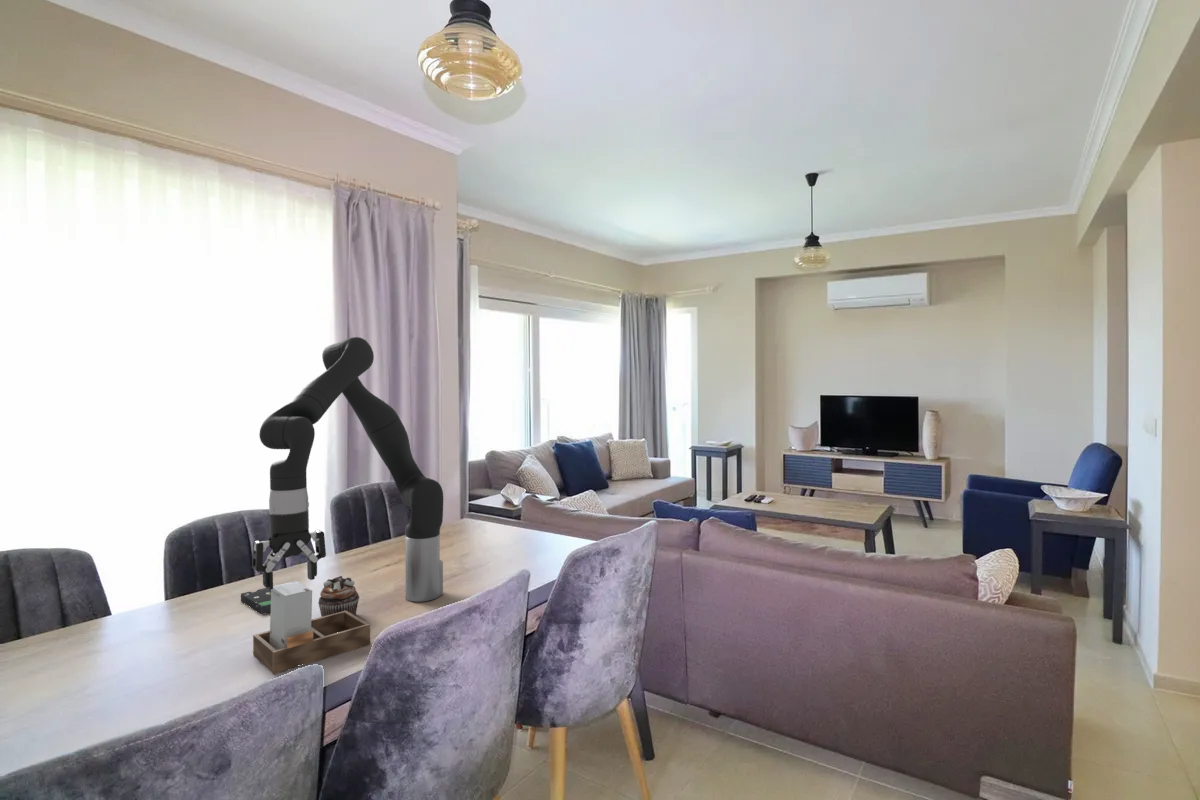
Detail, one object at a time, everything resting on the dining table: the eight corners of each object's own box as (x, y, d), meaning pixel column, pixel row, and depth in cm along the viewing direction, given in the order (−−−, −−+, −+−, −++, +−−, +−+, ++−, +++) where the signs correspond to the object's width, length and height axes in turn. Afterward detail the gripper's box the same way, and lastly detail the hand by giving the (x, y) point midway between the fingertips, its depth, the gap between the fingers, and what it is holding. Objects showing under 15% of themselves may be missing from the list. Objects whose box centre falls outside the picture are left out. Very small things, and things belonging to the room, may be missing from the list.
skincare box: (268, 653, 134) (268, 585, 133) (297, 645, 138) (296, 579, 138) (284, 665, 128) (283, 594, 128) (313, 656, 133) (313, 587, 132)
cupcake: (309, 622, 152) (309, 582, 152) (339, 609, 161) (338, 571, 161) (339, 627, 149) (338, 586, 149) (367, 614, 158) (367, 575, 158)
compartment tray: (346, 628, 148) (346, 602, 148) (370, 644, 139) (370, 615, 139) (253, 655, 133) (253, 625, 133) (273, 674, 125) (273, 642, 124)
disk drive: (239, 603, 167) (261, 616, 157) (239, 593, 167) (261, 605, 157) (279, 594, 175) (302, 605, 165) (279, 584, 174) (302, 595, 165)
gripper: (315, 502, 140) (317, 572, 140) (246, 512, 129) (248, 588, 130) (329, 506, 134) (331, 579, 135) (259, 517, 124) (260, 596, 125)
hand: (290, 583), depth 132 cm, fingers open, 8 cm apart
